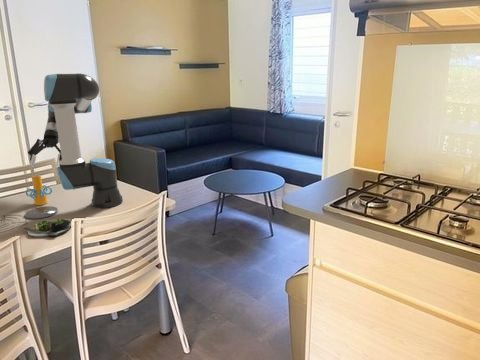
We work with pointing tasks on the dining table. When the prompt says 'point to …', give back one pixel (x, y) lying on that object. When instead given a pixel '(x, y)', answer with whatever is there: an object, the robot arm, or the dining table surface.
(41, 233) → the salad plate
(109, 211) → the dining table surface
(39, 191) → the cylinder
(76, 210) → the dining table surface
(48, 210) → the base plate
